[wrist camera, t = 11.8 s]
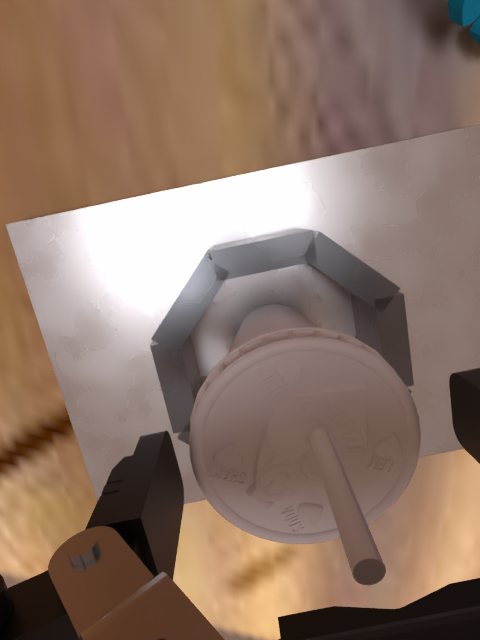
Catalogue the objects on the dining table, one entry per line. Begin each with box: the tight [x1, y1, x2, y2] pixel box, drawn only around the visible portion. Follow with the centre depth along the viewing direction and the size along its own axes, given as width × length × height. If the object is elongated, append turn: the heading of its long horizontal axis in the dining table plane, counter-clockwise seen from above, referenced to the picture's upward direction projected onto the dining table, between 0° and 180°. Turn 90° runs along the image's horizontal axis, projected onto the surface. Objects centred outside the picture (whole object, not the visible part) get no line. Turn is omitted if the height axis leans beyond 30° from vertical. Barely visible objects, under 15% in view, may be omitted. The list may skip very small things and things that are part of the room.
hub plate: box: [6, 124, 480, 504], centre depth 20 cm, size 16×22×5 cm
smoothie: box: [189, 304, 421, 585], centre depth 14 cm, size 6×6×14 cm
